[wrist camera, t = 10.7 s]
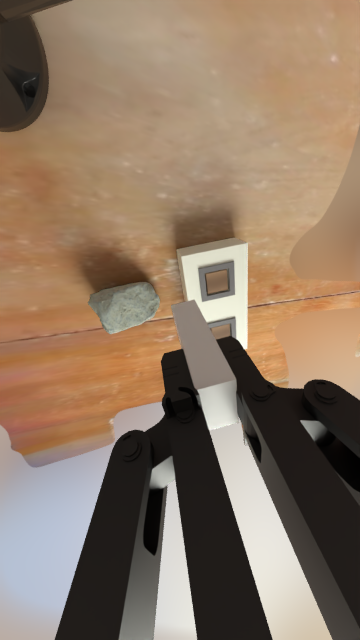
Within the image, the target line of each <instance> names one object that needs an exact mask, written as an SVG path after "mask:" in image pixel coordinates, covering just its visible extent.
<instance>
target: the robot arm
mask: <svg viewBox="0 0 360 640" xmlns="http://www.w3.org/2000/svg"><path fill="white" fill-rule="evenodd" d="M69 1H72V0H0V131H1V132H12V131H18V130H21V129H23V128H26V127H27V126H29V125H30V124H32V123H33V122H34V121H35V120H36V119H37V118H38V116H39V115H40V113H41V112H42V110H43V108H44V105H45V102H46V99H47V94H48V84H49V75H48V65H47V60H46V55H45V51H44V47H43V44H42V41H41V38H40V35H39V33H38V30H37V28H36V26H35V24H34V22H33V20H32V18H31V16H30V15H31V14H34V13H37V12H39V11H42V10H45V9H48V8H51V7H54V6H57V5H60V4H63V3H66V2H69ZM171 308H172V312H173V316H174V321H175V325H176V329H177V333H178V337H179V341H180V345H181V348H182V349H180V350H176V351H172V352H168V353H164V355H163V357H162V360H161V365H162V372H163V379H164V386H165V395H164V397H163V399H162V406H163V409H164V412H165V415H164V417H163V418H162V420H161V421H160V422H159V423H157V424H156V425H155V426H153V427H152V428H150V429H148V430H147V431H145V432H143V431H140V430H133V431H128V432H127V433H125V434H124V435H122V436H121V437H120V438H119V439H118V440H117V442H116V443H115V445H114V448H113V450H112V453H111V456H110V459H109V463H108V466H107V469H106V473H105V476H104V479H103V483H102V486H101V489H100V492H99V496H98V499H97V502H96V506H95V509H94V512H93V515H92V519H91V522H90V525H89V529H88V532H87V535H86V538H85V542H84V545H83V549H82V552H81V555H80V558H79V562H78V565H77V568H76V571H75V575H74V578H73V581H72V585H71V588H70V591H69V595H68V598H67V601H66V605H65V608H64V611H63V614H62V618H61V621H60V624H59V627H58V631H57V634H56V637H55V640H153V638H154V627H155V615H156V605H157V594H158V584H159V572H160V561H161V551H162V540H163V528H164V517H165V507H166V496H167V485H168V484H169V483H171V482H172V481H173V480H176V487H177V494H178V502H179V508H180V516H181V524H182V530H183V538H184V545H185V552H186V560H187V567H188V574H189V582H190V589H191V596H192V604H193V611H194V618H195V624H196V633H197V640H272V636H271V634H270V630H269V626H268V623H267V620H266V616H265V613H264V610H263V607H262V603H261V601H260V597H259V593H258V590H257V587H256V584H255V580H254V577H253V574H252V570H251V567H250V564H249V560H248V557H247V554H246V551H245V547H244V544H243V541H242V538H241V534H240V531H239V528H238V524H237V521H236V518H235V515H234V511H233V508H232V505H231V501H230V498H229V495H228V491H227V488H226V485H225V481H224V478H223V475H222V472H221V468H220V465H219V462H218V458H217V455H216V452H215V448H214V445H213V442H212V438H211V435H210V432H209V431H210V430H214V429H217V428H221V427H224V426H228V425H232V424H235V423H239V418H240V420H241V423H242V425H243V435H244V444H245V446H246V445H249V447H250V450H251V452H252V454H253V457H254V459H255V461H256V464H257V466H258V468H259V470H260V473H261V475H262V477H263V480H264V482H265V484H266V487H267V489H268V491H269V494H270V496H271V498H272V501H273V503H274V505H275V507H276V510H277V512H278V514H279V517H280V519H281V521H282V524H283V526H284V528H285V531H286V533H287V535H288V538H289V540H290V542H291V544H292V547H293V549H294V551H295V554H296V556H297V558H298V561H299V563H300V565H301V567H302V570H303V572H304V575H305V577H306V579H307V581H308V584H309V586H310V588H311V591H312V593H313V595H314V598H315V600H316V602H317V605H318V607H319V609H320V611H321V614H322V616H323V618H324V621H325V623H326V625H327V628H328V630H329V632H330V635H331V637H332V639H333V640H360V400H358V399H357V398H355V397H354V396H352V395H351V394H350V393H348V392H347V391H346V390H344V389H343V388H341V387H340V386H338V385H336V384H334V383H332V382H330V381H326V380H312V381H309V382H308V383H307V384H306V385H304V389H291V388H280V387H277V386H275V385H274V384H273V383H271V382H269V381H267V380H265V379H264V378H263V376H262V375H261V373H260V372H259V370H258V369H257V367H256V366H255V364H254V363H253V361H252V360H251V358H250V357H249V355H247V352H246V351H245V349H244V348H243V346H242V345H241V343H240V342H239V341H238V340H237V339H235V338H234V337H232V336H227V337H224V338H220V339H215V338H214V336H213V334H212V332H211V330H210V328H209V326H208V324H207V322H206V320H205V318H204V316H203V315H202V313H201V311H200V309H199V307H198V305H197V303H196V301H195V299H194V300H190V301H186V302H182V303H178V304H174V305H171ZM238 417H239V418H238Z"/></svg>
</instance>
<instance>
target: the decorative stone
mask: <svg viewBox="0 0 360 640" xmlns="http://www.w3.org/2000/svg"><path fill="white" fill-rule="evenodd" d="M159 303H160V299H159V296H158V295H157V294H156V293H155V291H154V289H153V286H152V285H151V284H149V283H147V282H137V283H129V284H127V285H123V286H117V287H114V288H109V289H103V290H100V291H99V292H98V293H94V294H91V295H90V300H89V302H88V304H89V305H90V306H91V307H92V309H93V310H94V311H95V312H96V313H97V315H98V316H99V318H100V321H101V323H102V326H103V328H104V329H105V330H106V332H108V333H109V334H112V333H116V332H120V331H124V330H126V329H128V328H130V327H133V326H138V325H140V324H142V323H143V322H145V321H146V320H149V319H151V318H152V317H154V315H155V312H156V311H157V309H158V308H159Z"/></svg>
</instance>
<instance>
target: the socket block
mask: <svg viewBox="0 0 360 640" xmlns="http://www.w3.org/2000/svg"><path fill="white" fill-rule="evenodd" d="M176 252H177V258H178V264H179V270H180V276H181V282H182V288H183V294H184V300H185V302H186V301H190V300H194V299H195V301H196V303H197V305H198V307H199V309H200V311H201V313H202V315H203V316H204V318H205V320H206V322H207V324H208V326H209V328H213V327H217V326H222V325H226V324H230V336H232V337H234V338H235V339H237V340H238V341H239V342H240V343H241V345H242V346H243V348H244V349H247V283H248V243H247V242H244V241H242V240H240V239H237V238H235V237H234V238H229V239H224V240H219V241H214V242H209V243H204V244H199V245H194V246H190V247H185V248H180V249H176ZM223 269H227V280H228V290H224V291H219V292H214V293H210V294H208V293H207V291H206V281H205V273H209V272H214V271H218V270H223Z"/></svg>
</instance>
